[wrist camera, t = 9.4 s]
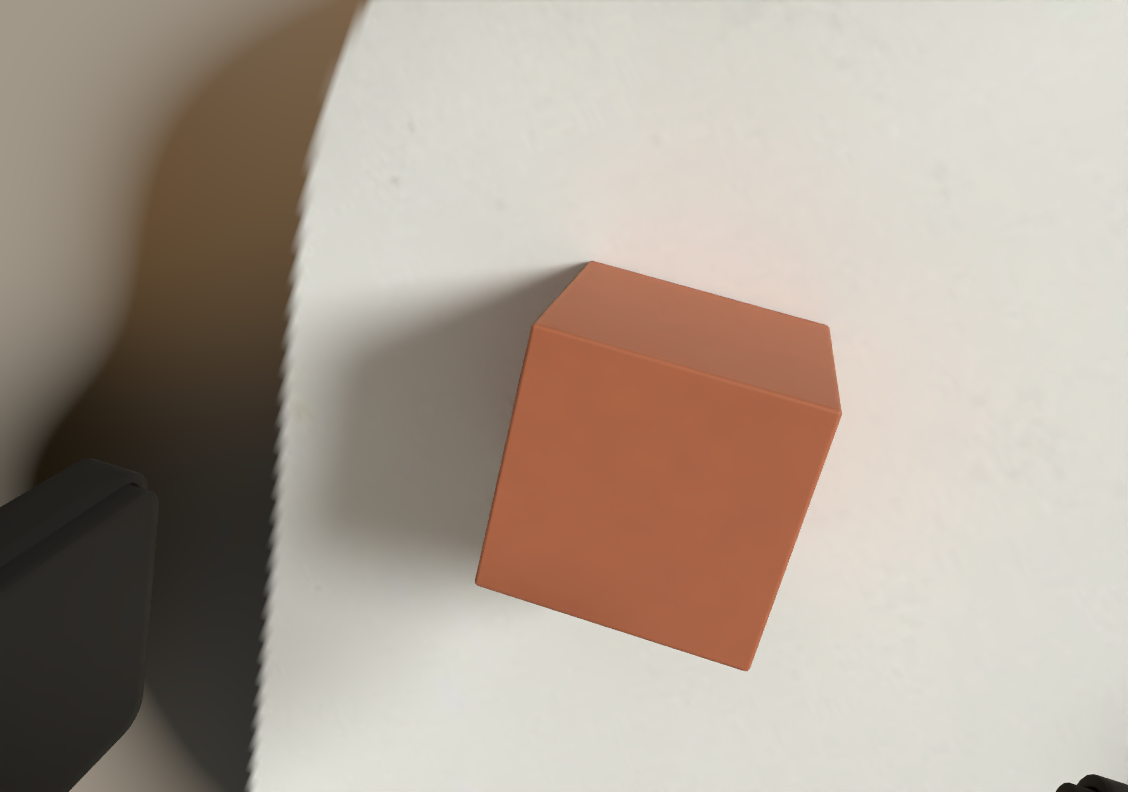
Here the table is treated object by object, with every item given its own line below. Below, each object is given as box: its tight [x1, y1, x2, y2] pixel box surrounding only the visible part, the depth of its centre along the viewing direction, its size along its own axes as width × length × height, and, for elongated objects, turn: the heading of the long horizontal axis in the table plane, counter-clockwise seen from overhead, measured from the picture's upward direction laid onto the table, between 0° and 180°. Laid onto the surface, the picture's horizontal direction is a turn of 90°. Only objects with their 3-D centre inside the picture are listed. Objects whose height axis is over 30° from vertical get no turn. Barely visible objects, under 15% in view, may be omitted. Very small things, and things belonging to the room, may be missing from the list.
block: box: [475, 261, 842, 671], centre depth 16 cm, size 4×4×4 cm
